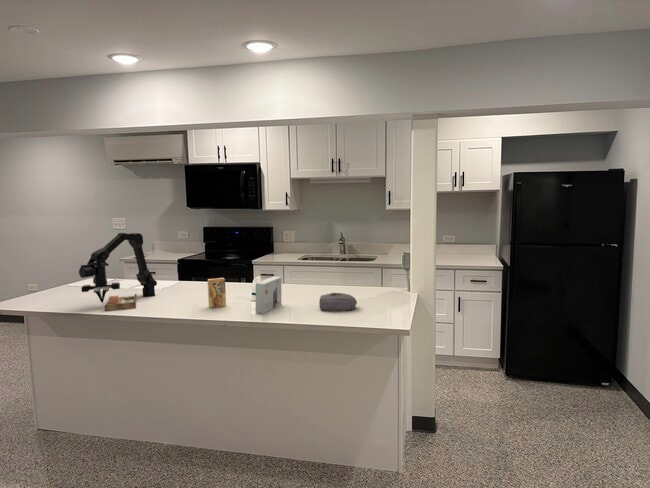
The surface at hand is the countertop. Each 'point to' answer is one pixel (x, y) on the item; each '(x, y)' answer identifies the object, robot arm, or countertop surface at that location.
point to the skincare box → (268, 294)
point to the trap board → (122, 303)
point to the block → (113, 299)
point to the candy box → (216, 292)
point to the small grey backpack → (337, 302)
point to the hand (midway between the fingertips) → (102, 302)
